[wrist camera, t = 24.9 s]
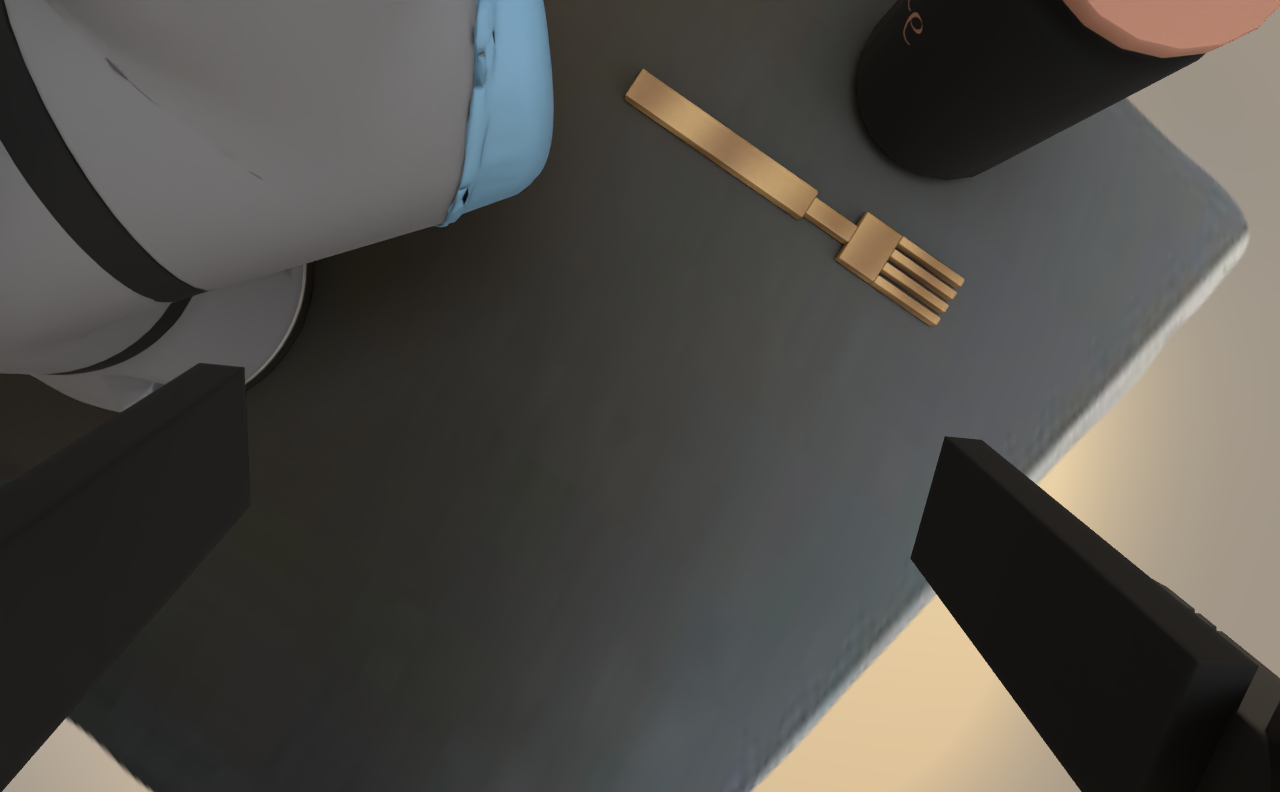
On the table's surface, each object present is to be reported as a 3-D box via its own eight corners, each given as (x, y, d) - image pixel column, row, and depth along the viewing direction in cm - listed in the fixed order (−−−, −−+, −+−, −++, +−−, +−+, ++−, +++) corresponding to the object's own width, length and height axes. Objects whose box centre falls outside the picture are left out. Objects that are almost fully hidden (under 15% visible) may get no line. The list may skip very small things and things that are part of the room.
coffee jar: (956, -31, 45) (1216, -308, 27) (1054, 121, 46) (1370, -52, 28) (813, 67, 44) (985, -153, 26) (915, 221, 45) (1150, 107, 27)
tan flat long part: (617, 110, 43) (618, 104, 42) (648, 64, 43) (649, 57, 43) (930, 326, 45) (936, 325, 44) (958, 281, 45) (965, 279, 45)
